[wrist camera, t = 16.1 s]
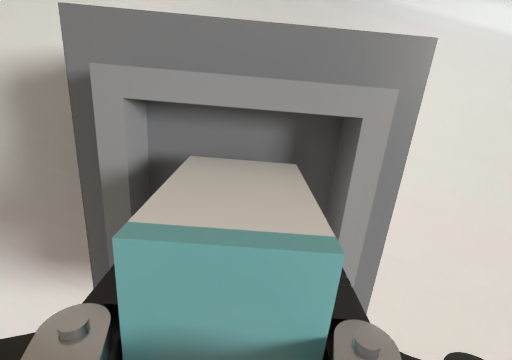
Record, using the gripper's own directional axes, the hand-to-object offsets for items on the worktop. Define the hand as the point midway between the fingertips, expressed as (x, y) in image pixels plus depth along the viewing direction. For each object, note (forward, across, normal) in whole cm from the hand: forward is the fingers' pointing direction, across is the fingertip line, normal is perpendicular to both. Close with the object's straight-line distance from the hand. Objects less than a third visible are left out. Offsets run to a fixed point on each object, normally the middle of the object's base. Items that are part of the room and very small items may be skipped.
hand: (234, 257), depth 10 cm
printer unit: (+13, 0, 0) cm, 13 cm away
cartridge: (+2, 0, 0) cm, 2 cm away
